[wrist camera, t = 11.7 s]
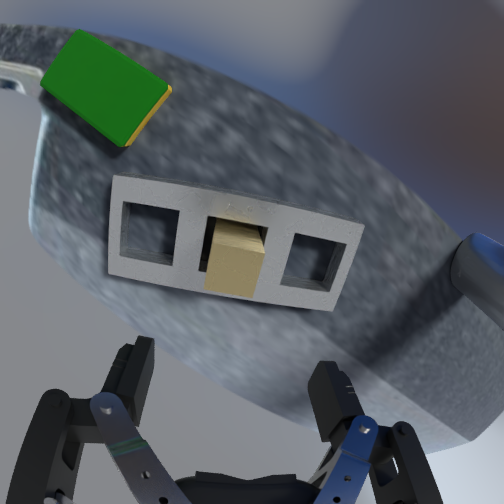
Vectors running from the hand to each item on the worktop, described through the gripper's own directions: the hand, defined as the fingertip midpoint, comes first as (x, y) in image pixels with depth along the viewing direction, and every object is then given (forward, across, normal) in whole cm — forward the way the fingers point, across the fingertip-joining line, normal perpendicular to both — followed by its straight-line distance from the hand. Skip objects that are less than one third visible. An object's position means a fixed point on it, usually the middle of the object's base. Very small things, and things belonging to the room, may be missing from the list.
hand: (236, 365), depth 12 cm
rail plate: (+17, 0, 0) cm, 17 cm away
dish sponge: (+17, +16, -14) cm, 28 cm away
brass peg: (+17, 0, 0) cm, 17 cm away
